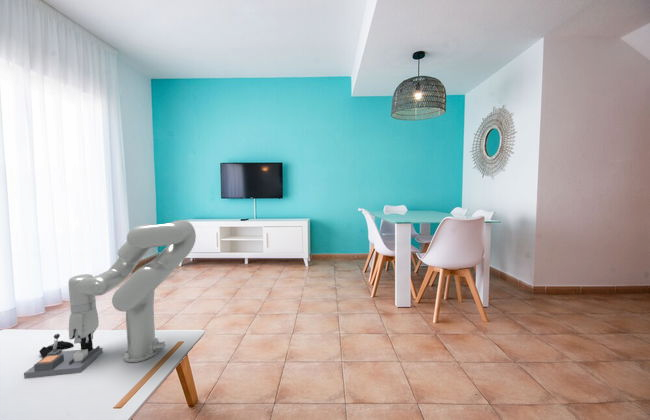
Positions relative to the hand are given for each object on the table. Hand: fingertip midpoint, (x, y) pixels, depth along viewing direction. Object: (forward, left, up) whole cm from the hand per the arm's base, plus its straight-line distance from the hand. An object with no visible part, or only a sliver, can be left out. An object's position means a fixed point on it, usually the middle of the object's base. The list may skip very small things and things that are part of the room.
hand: (87, 350), depth 110 cm
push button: (+9, +6, -1) cm, 11 cm away
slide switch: (0, +3, -1) cm, 4 cm away
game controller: (+17, -9, -4) cm, 20 cm away
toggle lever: (+13, -2, 0) cm, 13 cm away
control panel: (+6, +2, -4) cm, 7 cm away
